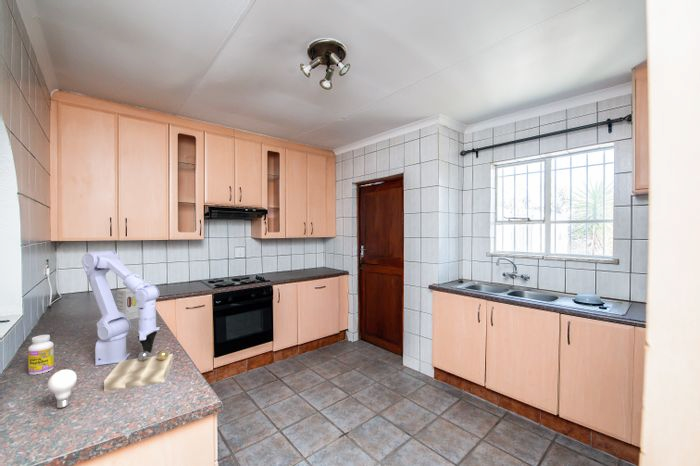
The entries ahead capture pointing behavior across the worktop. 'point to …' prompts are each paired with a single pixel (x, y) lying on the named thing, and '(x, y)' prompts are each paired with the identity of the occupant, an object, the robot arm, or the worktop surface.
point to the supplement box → (127, 303)
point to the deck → (138, 373)
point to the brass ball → (162, 355)
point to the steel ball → (143, 355)
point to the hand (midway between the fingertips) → (148, 352)
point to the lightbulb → (62, 386)
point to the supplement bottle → (40, 355)
